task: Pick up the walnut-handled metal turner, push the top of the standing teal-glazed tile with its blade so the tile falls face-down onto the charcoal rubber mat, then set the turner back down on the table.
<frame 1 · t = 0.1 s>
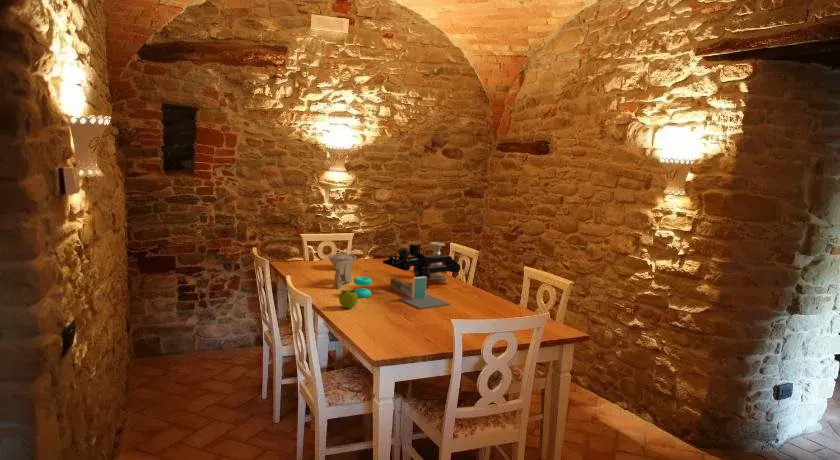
hand: (386, 263, 303), 17 cm above the table, tool horizontal, fingers open, 9 cm apart
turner: (402, 292, 305), on the table
mat: (424, 302, 287), on the table
candle holder: (435, 279, 343), on the table
fruit: (348, 308, 269), on the table
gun: (343, 285, 317), on the table
donuts: (362, 296, 294), on the table
bowl: (341, 269, 359), on the table
tile: (418, 298, 291), point 1 cm above the table, touching mat
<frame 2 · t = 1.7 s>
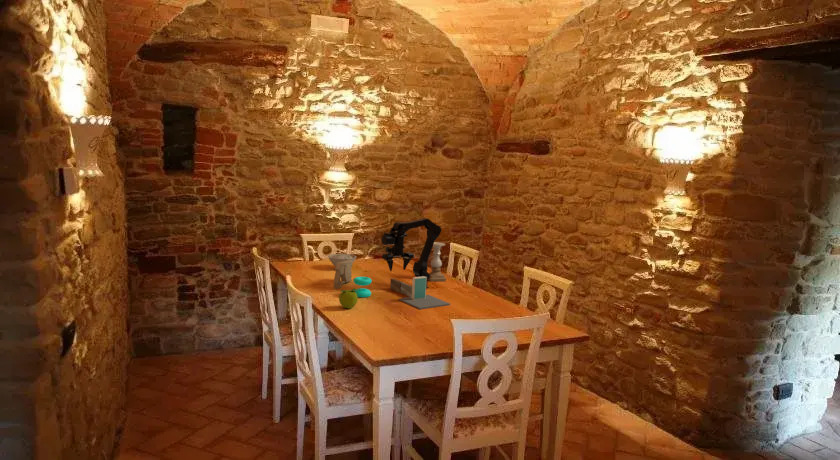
hand: (397, 270, 308), 12 cm above the table, tool pointing down, fingers open, 9 cm apart
nothing on the table moved.
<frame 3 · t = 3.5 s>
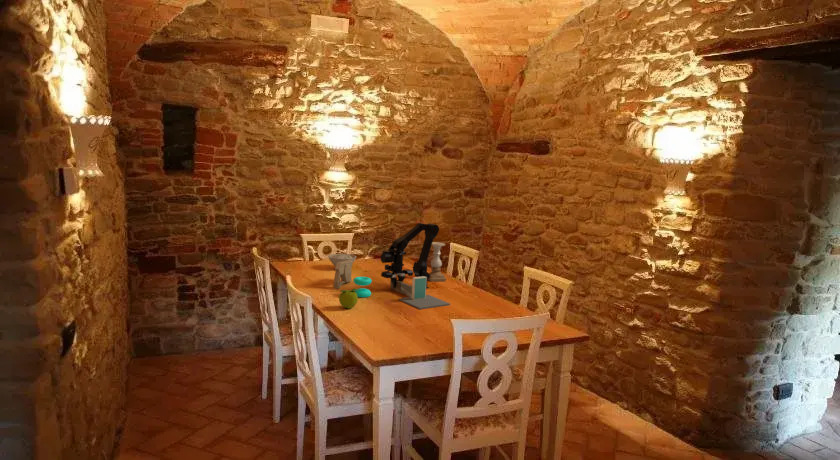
hand: (396, 287, 309), 2 cm above the table, tool pointing down, fingers closed on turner, 2 cm apart
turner: (402, 292, 305), on the table, touching gripper
everything else where it was.
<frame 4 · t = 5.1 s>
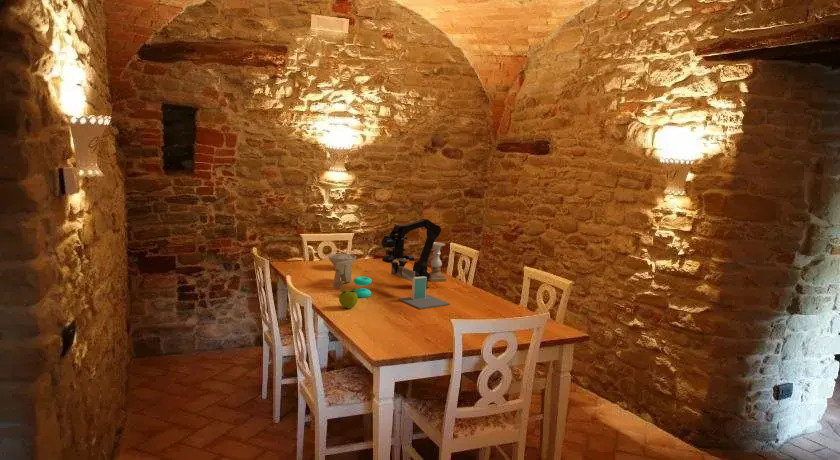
hand: (397, 273, 308), 10 cm above the table, tool pointing down, fingers closed on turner, 2 cm apart
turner: (403, 277, 303), point 9 cm above the table, touching gripper
everything else where it was.
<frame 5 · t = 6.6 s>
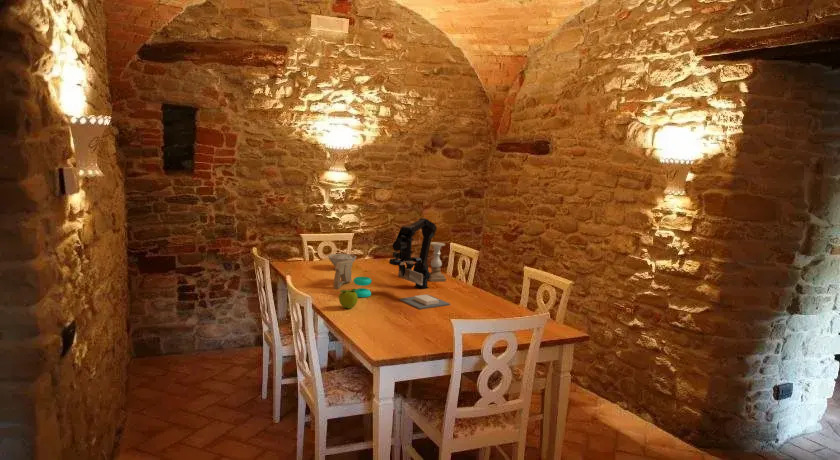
hand: (404, 275, 302), 11 cm above the table, tool pointing down, fingers closed on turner, 2 cm apart
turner: (410, 280, 297), point 9 cm above the table, touching gripper
tile: (419, 297, 290), point 2 cm above the table, tilted 90°, touching mat
everything else where it was.
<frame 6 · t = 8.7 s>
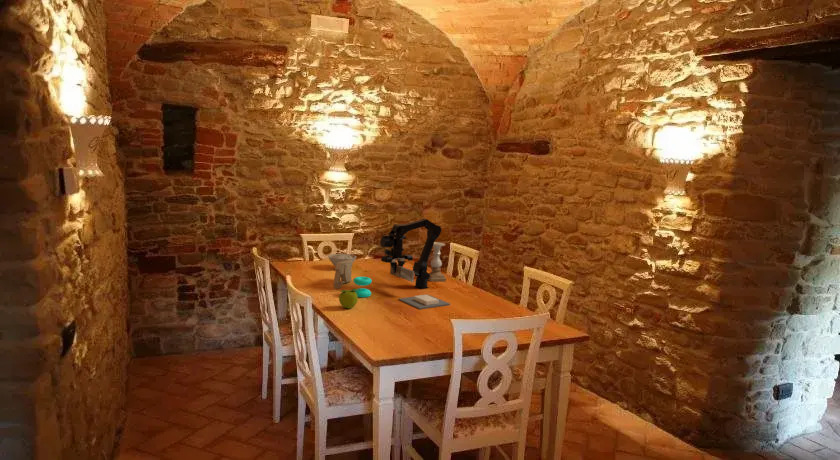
hand: (396, 272, 309), 10 cm above the table, tool pointing down, fingers closed on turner, 2 cm apart
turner: (402, 277, 304), point 9 cm above the table, touching gripper
everything else where it was.
when the fingers open (3 cm above the table, at t = 10.6 s): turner drops 1 cm, on the table.
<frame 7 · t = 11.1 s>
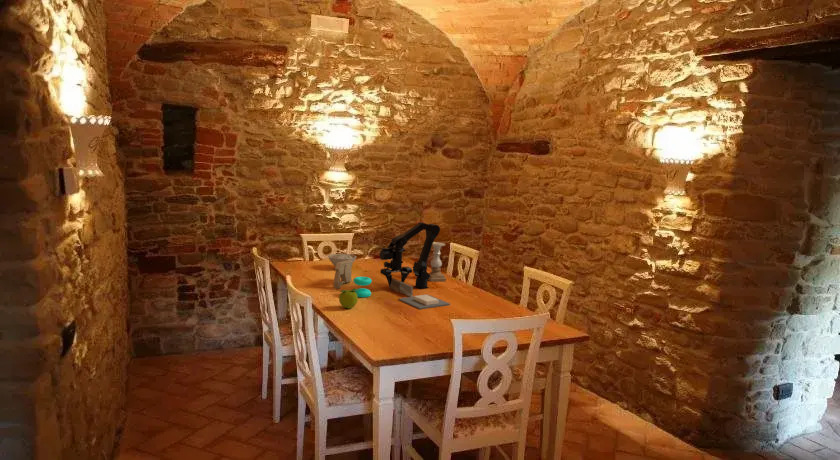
hand: (395, 285, 310), 3 cm above the table, tool pointing down, fingers open, 8 cm apart
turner: (401, 292, 306), on the table
everything else where it was.
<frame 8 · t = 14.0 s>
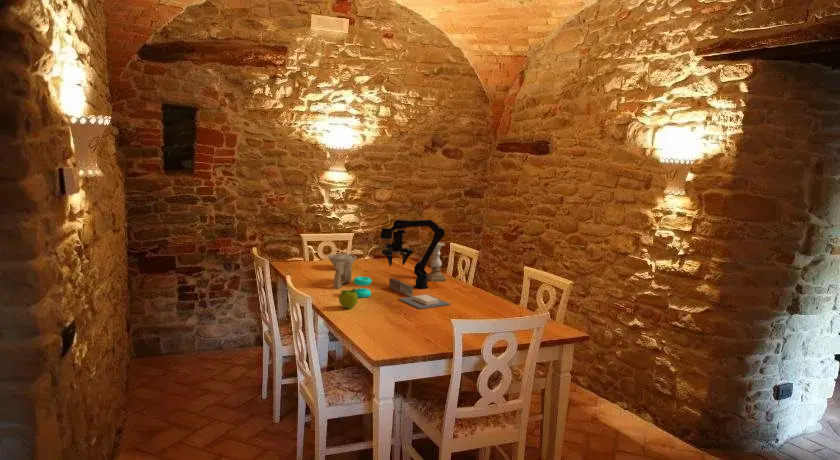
hand: (396, 265, 319), 12 cm above the table, tool pointing down, fingers open, 9 cm apart
nothing on the table moved.
at the end: tile tilted 90°; tile inside the target area (2.3 cm from its centre), point 1.9 cm above the table; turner touching table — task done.
